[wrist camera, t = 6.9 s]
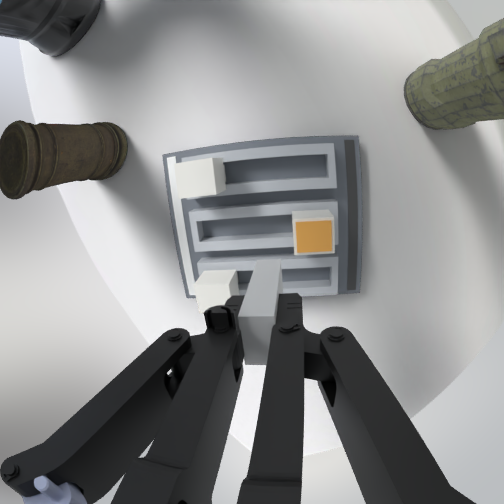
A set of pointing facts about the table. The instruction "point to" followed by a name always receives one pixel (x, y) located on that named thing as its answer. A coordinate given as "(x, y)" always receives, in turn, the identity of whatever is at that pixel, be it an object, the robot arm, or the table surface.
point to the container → (58, 155)
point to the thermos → (461, 84)
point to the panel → (264, 214)
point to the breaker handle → (313, 232)
